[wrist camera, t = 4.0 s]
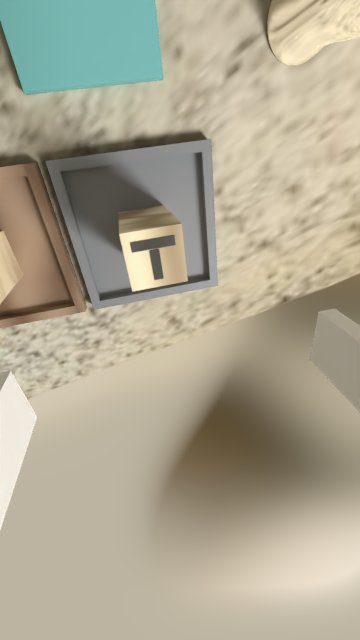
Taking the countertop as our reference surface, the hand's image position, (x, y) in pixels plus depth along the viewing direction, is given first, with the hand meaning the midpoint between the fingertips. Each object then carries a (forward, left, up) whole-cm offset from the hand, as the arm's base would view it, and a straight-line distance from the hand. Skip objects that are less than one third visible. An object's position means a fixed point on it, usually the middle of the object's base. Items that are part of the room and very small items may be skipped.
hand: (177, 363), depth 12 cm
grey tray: (+1, 0, -23) cm, 23 cm away
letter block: (+1, 0, -23) cm, 23 cm away
